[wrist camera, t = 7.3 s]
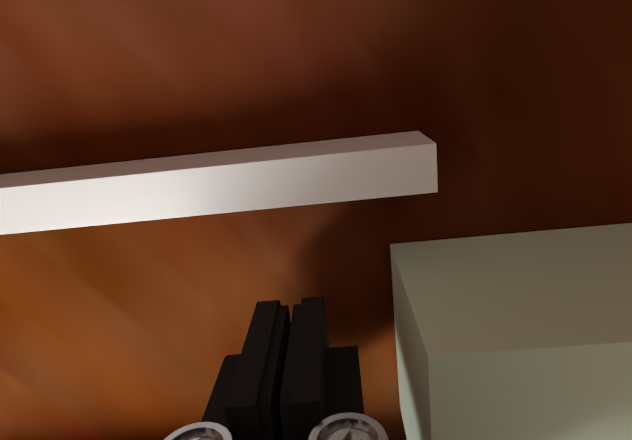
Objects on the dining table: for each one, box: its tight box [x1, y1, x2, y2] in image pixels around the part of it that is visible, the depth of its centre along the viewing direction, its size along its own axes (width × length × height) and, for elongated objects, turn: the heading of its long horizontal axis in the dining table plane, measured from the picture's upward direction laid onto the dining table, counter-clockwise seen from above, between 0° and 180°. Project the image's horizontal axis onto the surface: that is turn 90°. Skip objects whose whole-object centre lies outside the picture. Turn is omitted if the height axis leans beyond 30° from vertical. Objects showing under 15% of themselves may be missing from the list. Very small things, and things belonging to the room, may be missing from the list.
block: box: [390, 223, 632, 440], centre depth 10 cm, size 6×5×5 cm
